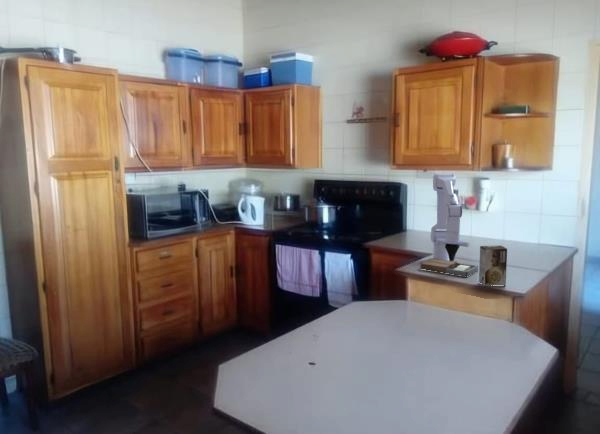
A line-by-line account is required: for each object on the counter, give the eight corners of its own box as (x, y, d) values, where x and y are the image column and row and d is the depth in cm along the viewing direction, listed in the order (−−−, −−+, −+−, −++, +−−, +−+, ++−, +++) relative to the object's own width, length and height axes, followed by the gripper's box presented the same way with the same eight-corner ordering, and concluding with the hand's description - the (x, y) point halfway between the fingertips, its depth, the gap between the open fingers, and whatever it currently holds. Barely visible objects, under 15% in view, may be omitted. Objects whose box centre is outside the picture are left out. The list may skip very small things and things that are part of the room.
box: (457, 267, 227) (457, 262, 227) (477, 271, 221) (478, 265, 221) (445, 274, 216) (445, 268, 216) (466, 277, 210) (467, 272, 210)
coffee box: (499, 282, 203) (501, 245, 201) (506, 286, 197) (508, 248, 194) (477, 282, 203) (479, 245, 200) (484, 287, 196) (486, 248, 194)
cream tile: (470, 266, 220) (470, 270, 220) (460, 264, 223) (460, 268, 223) (466, 268, 217) (466, 272, 217) (456, 266, 219) (456, 270, 220)
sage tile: (466, 268, 216) (466, 273, 216) (457, 267, 218) (456, 271, 219) (463, 270, 212) (462, 275, 213) (453, 269, 215) (453, 273, 215)
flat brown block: (433, 264, 235) (433, 258, 234) (456, 267, 227) (457, 261, 227) (420, 269, 224) (420, 263, 224) (445, 274, 217) (445, 267, 216)
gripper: (433, 230, 217) (432, 259, 219) (465, 234, 208) (464, 264, 210) (440, 228, 222) (439, 256, 224) (471, 231, 213) (469, 261, 215)
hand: (451, 260), depth 217 cm, fingers closed
